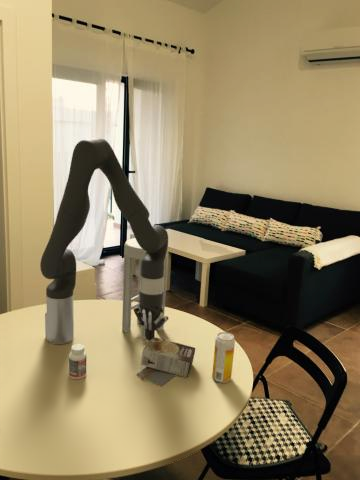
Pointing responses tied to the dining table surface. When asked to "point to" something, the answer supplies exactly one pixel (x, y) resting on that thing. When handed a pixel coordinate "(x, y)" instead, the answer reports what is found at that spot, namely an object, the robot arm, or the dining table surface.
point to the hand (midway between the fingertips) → (149, 339)
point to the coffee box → (168, 356)
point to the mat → (157, 376)
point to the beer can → (223, 357)
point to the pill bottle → (77, 362)
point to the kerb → (147, 373)
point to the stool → (137, 252)
